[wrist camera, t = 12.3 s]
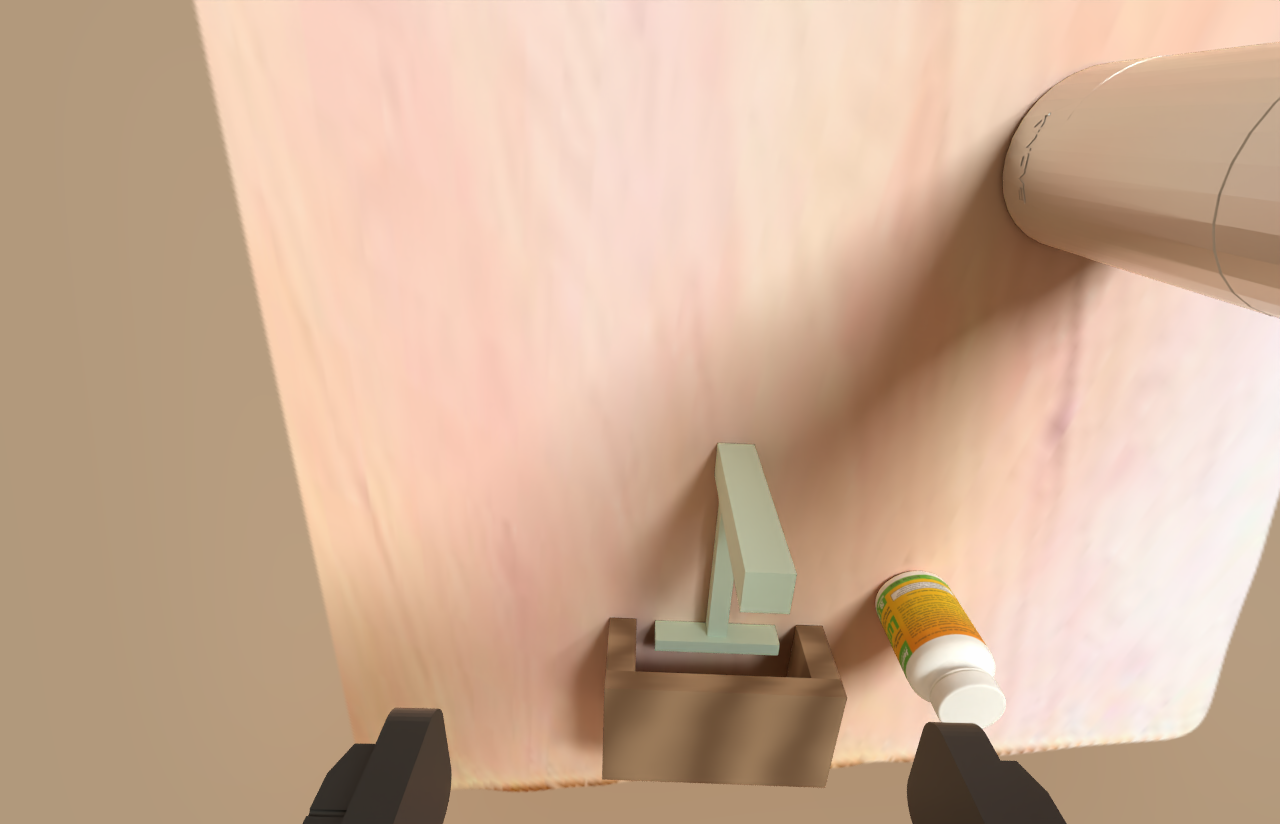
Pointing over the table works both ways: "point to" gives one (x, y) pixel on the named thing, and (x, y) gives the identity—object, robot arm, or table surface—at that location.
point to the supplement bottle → (940, 649)
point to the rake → (739, 564)
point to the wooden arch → (722, 718)
